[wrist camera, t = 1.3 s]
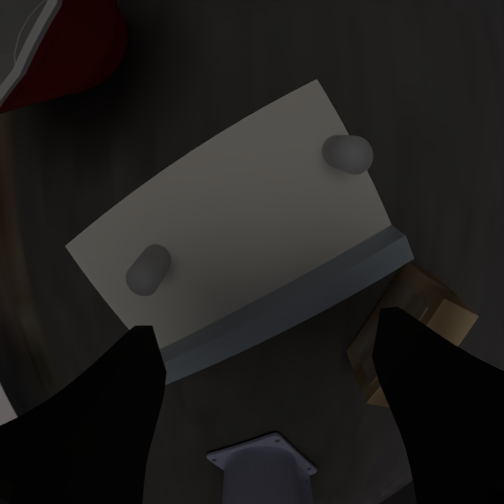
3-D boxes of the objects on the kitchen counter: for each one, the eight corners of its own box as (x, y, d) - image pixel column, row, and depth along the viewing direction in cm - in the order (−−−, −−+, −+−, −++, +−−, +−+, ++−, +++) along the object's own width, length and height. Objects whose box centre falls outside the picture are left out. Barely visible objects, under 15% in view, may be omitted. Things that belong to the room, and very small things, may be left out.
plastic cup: (22, 146, 17) (-119, 183, 6) (30, 6, 13) (-87, -33, 2) (170, 124, 17) (48, 120, 6) (174, -35, 13) (110, -156, 2)
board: (393, 241, 19) (421, 265, 16) (167, 360, 23) (155, 397, 19) (313, 81, 16) (330, 69, 12) (72, 241, 19) (41, 264, 15)
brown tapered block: (438, 277, 21) (478, 315, 15) (381, 361, 23) (404, 410, 18) (402, 258, 20) (442, 297, 15) (344, 350, 23) (363, 402, 17)
